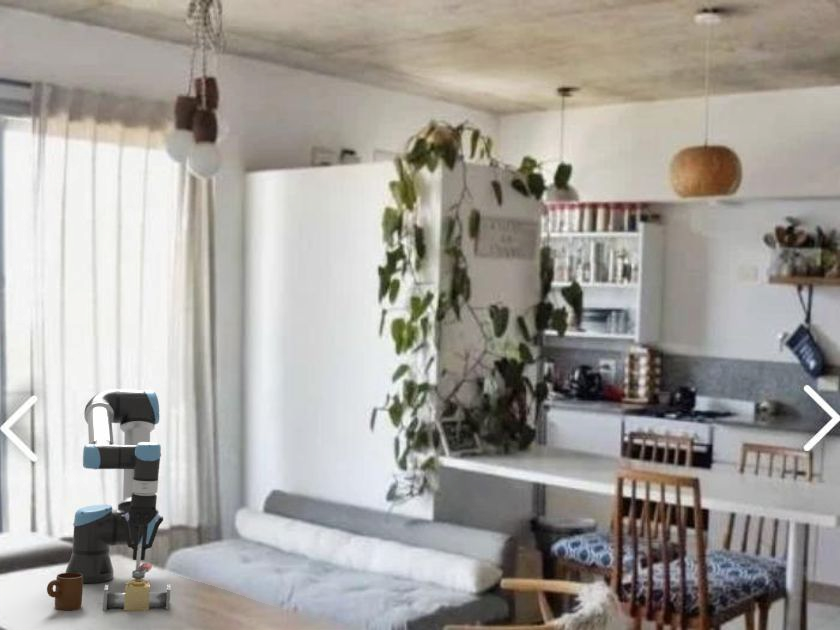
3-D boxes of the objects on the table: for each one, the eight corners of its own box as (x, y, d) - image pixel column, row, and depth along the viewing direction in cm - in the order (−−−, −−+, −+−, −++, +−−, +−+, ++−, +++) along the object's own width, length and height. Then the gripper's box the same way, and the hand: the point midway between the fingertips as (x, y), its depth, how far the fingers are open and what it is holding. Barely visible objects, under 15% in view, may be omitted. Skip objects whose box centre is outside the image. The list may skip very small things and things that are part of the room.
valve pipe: (104, 602, 313) (106, 573, 313) (170, 602, 318) (172, 573, 318) (102, 610, 305) (104, 581, 305) (171, 610, 309) (172, 581, 309)
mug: (55, 615, 297) (57, 582, 297) (36, 611, 301) (38, 578, 301) (87, 606, 308) (89, 575, 308) (68, 602, 312) (70, 570, 312)
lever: (141, 568, 321) (141, 562, 321) (153, 568, 321) (153, 563, 322) (130, 578, 309) (131, 572, 309) (142, 578, 309) (143, 573, 309)
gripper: (122, 494, 313) (115, 572, 313) (165, 496, 316) (158, 574, 316) (123, 490, 321) (116, 567, 320) (165, 492, 324) (159, 568, 323)
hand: (137, 570), depth 318 cm, fingers closed
